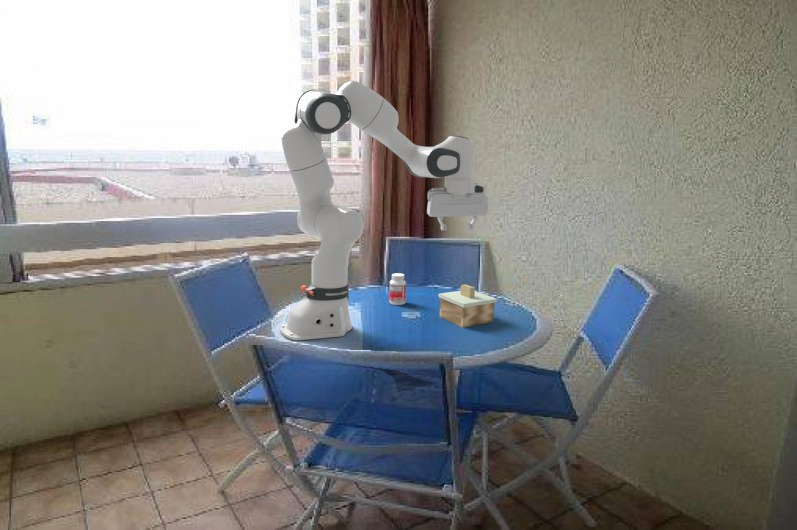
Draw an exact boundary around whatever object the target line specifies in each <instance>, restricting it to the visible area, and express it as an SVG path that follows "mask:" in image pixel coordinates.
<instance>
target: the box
mask: <svg viewBox="0 0 797 530" xmlns="http://www.w3.org/2000/svg"><path fill="white" fill-rule="evenodd" d="M439 303H440V304H439V317H440V318H441V319H443V320H446V321H448V322H449V323H452V324H454V325H456V326H459V327H460V328H463V329H464V328H468V327H474V326H480V325H484V324H491V323H494V315H495V303H490V304H483V305H477V306H470V307H464V308H463V307H461V306H459V305H456V304H454V303H451V302H449V301H447V300H444V299H442V298H439Z"/></svg>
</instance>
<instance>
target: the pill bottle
mask: <svg viewBox="0 0 797 530" xmlns="http://www.w3.org/2000/svg"><path fill="white" fill-rule="evenodd" d="M406 294H407V281H406V280H405V274H404V273H400V272H399V273H398V272H396V273H392V274H391V279H390V281H389V295H388V296H389V297H388V299H389V300H388V301H389V303H390V305H393V306H402V305H405V304H406V303H407V302H406V300H407V295H406Z"/></svg>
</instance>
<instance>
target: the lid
mask: <svg viewBox="0 0 797 530" xmlns="http://www.w3.org/2000/svg"><path fill="white" fill-rule="evenodd" d="M438 298H439V299H440V298H442V299H444V300H447V301H449V302H451V303H454V304H456V305H459V306H461V307H463V308H464V307H470V306H477V305H483V304H490V303H497V302H498V298H495V297H493V296H490V295H488V294H485V293H482V292H479V291H476V287H475V286H471V285H468V284H465V283H464V284H461V285H460V290H457V291H449V292H442V293H438Z"/></svg>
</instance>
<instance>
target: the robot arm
mask: <svg viewBox="0 0 797 530" xmlns="http://www.w3.org/2000/svg"><path fill="white" fill-rule="evenodd" d="M399 120H400V119H399V113H398V111H397V110H396V109H395V107H394V106H393V105H392V104H391V103H390V102H389V101H388V100H387V99H386V98H384V97H383V96H382V95H380V94H379V93H378V92H377V91H374V89H371V88H370V87H368V86H367V85H365V84H363V83H361V82H359V81H357V80H349V81H346V82H345V83H343V85H341V86H340V88H339V89H338V90H337V92H335V93H329V92H327V91H325V90H322V89H310V90H307V91H305V92H303V93H302V94H301V95H300V97H299V98H298V100H297V103H296V110H295V115H294V123H295V124H292V125H291V126H289V127H287V128H285V130H284V131H283V132H282V134H281V146H282V151H283V154H284V158H285V160H286V164H287V167H288V170H289V171H290V175H291V178H292V180H293V183H294V186H295V188H296V191H297V195H298V199H299V201H298V202H299V211H298V213H297V217H296V223H297V227H298V228H299V230H300V231H301V232H302V233H304V234H305V235H307V236H309V237H311V238H315V239H319V240H320V246H319V249H318V252H317V254H316V255H314V256H313V258H312V260H311V284H309V286H307V285H305V284H303V285H301V286H300V287H299V288H300V291H301V292H303V293H305V297H304V298H303V299H301V300H300V301H299V302H298V303H296V304H295V305H294V306H293V307H291V309H290V310H289V311H288V313H287V319H286V323H283V324H280V326H279V332H280V333H281V334H282V336H283V337H285V338H287V339H289V340H292V341H305V340H317V339H325V338H326V339H327V338H335V337H337V338H338V337H344V336H345V335H346V334H347V332H349V331H351V330H352V329H353V325H352V320H351V317H350V312H349V302H348V301H349V298H350V297H349V296H350V288H349V287H350V286H349V283H348V271H349V270H348V269H349V258H350V254H351V251H352V248H353V246H354V244H355V243H356V242H357V241H358V240H359V239H361V237H362V236H363V232H364V229H365V223H364V219H363V217H362V215H361V214H360V213H359V212H357V211H356V210H353V208H349V207H347V206H342V205H336V204H334V203H333V201H332V198H331V190H332V189H333V187H334V183H335V181H334V178H333V177H334V176H333V173H332V172H331V168H330V166H329V163H328V159H327V156H326V155H325V152H324V149H323V146H322V137H323V135H331V134H334V133H335V132H337V131H338V130H340V128H342V127H343V126H345V124H346V123H348V122H350V123H352V124H353V125H354V126H356V127H357V128H358V129H359V130H361V131H362V132H364V133H365V134H367V135H368V136H370V137H372V138H373V139H375V140H376V141H378V142H380V143H381V144H382V145H384V146H385V147H386V148H387V149H389V150H390V152H392V153H393V154H394V155H396V157H398V158H399V159H400V160H401V161H402V162H403V164H404V165H405V167H406V169H407V170H408V172H409V174H410V175H412V176H414V177H416V178H432V179H441V178H444V187H432V188H431V189H429V190H428V191H427V196H426V197H427V208H426V214H427V215H428V217H433V218H437V221H438V223H439V224H440V231H447V228H448V227H447V224H446V223H445V224H444V222H443V220H444V217H470V219H471V220H470V223H467V230H474V229H475V228H474V227H475V223H476V222H477V220H478V216H487V214H489V199H488V196H487V194H486V193H487V187H486V186H484V185H482V184H479V183H476V182H473V175H472V168H473V165H474V151H473V150H474V149H473V143H472V140H471V139H469V138H468V137H466V136H461V135H449V136H448V137H447V138H446V139H445V140H444V141H442V142H440V143H438V144H437V145H434V146H422V145H417V144H415V143H413V142H412V141H411V140H410V139H409V138H408V137H406V135H404V134H403V133H401V131H400V130H399V129H398V126H399Z"/></svg>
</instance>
